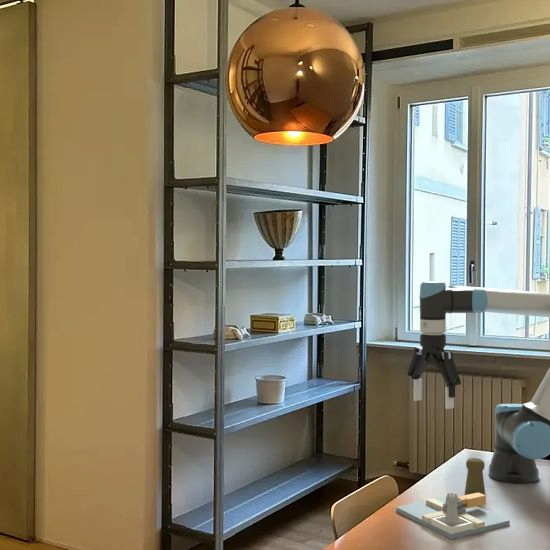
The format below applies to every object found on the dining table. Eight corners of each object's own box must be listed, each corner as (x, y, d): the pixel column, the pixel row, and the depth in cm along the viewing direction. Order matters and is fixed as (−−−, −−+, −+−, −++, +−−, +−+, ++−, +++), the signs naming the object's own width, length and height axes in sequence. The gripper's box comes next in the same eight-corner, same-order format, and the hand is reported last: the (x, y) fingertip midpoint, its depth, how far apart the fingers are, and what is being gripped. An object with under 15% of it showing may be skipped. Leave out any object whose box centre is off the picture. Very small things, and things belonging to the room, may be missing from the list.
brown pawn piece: (486, 500, 208) (487, 462, 208) (464, 498, 210) (465, 461, 209) (484, 493, 214) (485, 456, 214) (463, 492, 215) (464, 455, 215)
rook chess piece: (450, 530, 183) (450, 498, 182) (439, 523, 187) (439, 493, 186) (464, 527, 184) (464, 496, 184) (453, 521, 188) (454, 490, 188)
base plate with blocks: (451, 499, 209) (451, 487, 209) (509, 524, 190) (509, 511, 190) (396, 511, 200) (396, 498, 199) (451, 539, 180) (451, 525, 180)
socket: (452, 519, 190) (452, 513, 190) (473, 528, 184) (473, 522, 184) (431, 524, 187) (431, 518, 187) (450, 534, 180) (450, 528, 180)
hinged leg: (453, 512, 191) (453, 503, 191) (442, 507, 194) (442, 498, 194) (487, 505, 196) (488, 496, 196) (476, 500, 200) (476, 491, 200)
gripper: (395, 330, 224) (396, 398, 225) (454, 338, 203) (454, 413, 204) (414, 328, 228) (414, 395, 229) (473, 336, 207) (473, 410, 208)
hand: (433, 404), depth 216 cm, fingers open, 13 cm apart
